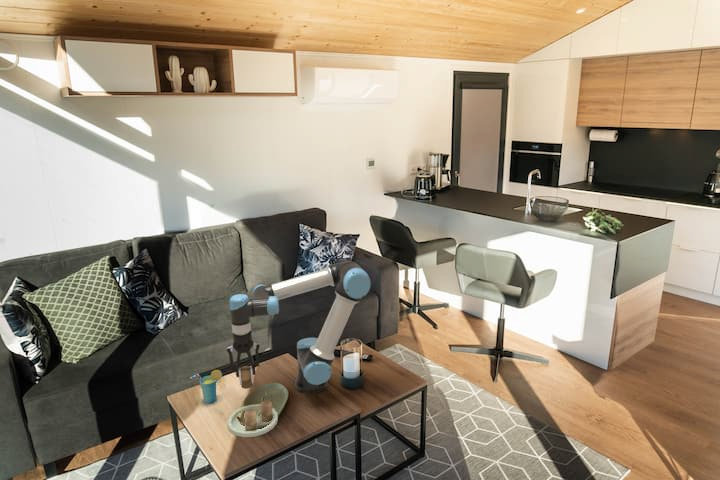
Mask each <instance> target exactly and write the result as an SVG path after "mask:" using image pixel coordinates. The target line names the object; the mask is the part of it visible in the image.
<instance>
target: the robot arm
mask: <svg viewBox="0 0 720 480" xmlns="http://www.w3.org/2000/svg"><path fill="white" fill-rule="evenodd" d="M371 283H372V282H371V278H370V277H369V274H368V273H367V271H365V270H364V269H363V268H362V267H361V265H359V264H358V263H357V262H355V261H351V260H345V261H340V262H336V263H332V264H330V265H327V266H326V267H325V268H324V269H319V270H316V271H313V272H309V273H307V274H303V275H300V276H296V277H292V278H290V279H287V280H283V281H279V282H275V283H272V284H268V285H265V284H258V285H256V286H254V288H253V290H252V298H249V296H248V295H247V294H243V293H242V294H241V293H238V294H235V295H232V296H230V298H229V313H230V321H231V322H230V323H231V332H232V341H233V342H232V345H231V346H227V347H226V352H227V354H228V356H229V357H228V359H229V365H230V370H231V371H235V376H236V378H238V379H239V385H240V386H241V385H242V381H241V371H240V368H241V367H240V363H241V356H242V355H241V354H247V355H246V356H247V357H248V360H249V363H250V366H249V367H250V369H251V380H252V384H254V376H255V375H256V368H257V367H259V366H260V359H259V358H260V357H259V349H260V346H261V345H260V342H254V341H253V336H252V325H251V318H257V317H266V316H272V315H277V314H279V313H280V306H279V305H280V304H279V301H280V300H284V299H286V298H290V297H294V296H296V295H297V296H298V295H300V294H304V293H308V292H311V291H314V290H318V289H321V288H325V287H328V286H331V287H336V288H335V290H334V293H335V295H336V296H335V299H334V300H333V303H332V304H331V305H332V306H331V308H330V311H329V312H328V315H327V317H326V319H325V322H324V324H323V326H322V329H321V331H320V332H319V335H318V337H305V338H301V339H300V340H299V341H297V342H296V349H297V350H296V352H297V355H296V356H297V370H298V371H297V375H296V377H295V381H294V386H295V389H296V390H297V392H300V393H307V394H308V393H315V394H317V393H321V392H323V391H324V390H326V388H327V387H328V381H329V380H330V378H331V376H332V365H333V362H334V360H335V354H334V352H335V349H336V347H337V345H338V342H339V340H340V338H341V336H342V334H343V331H344V329H345V326H346V325H347V323H348V320H349V317H350V315H351V313H352V311H353V309H354V307H355V305H356V304H359V303H360V302H361V300H362V298H363V297H365V296H367V294H368V293H369V292H370V289H371ZM252 348H253V349H254V350H255V351H254V352H255V361H254V358H253V354H252V351H251V349H252ZM234 350H235V351H236V352H237V353H236V354H237V355H236V361H235V362H234V356H233V351H234ZM234 363H235V364H234Z"/></svg>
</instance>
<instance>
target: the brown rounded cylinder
mask: <svg viewBox="0 0 720 480" xmlns="http://www.w3.org/2000/svg"><path fill="white" fill-rule="evenodd" d="M259 404H260V406H261V419H262V422H269V421H271V420H272V419H273V414H272V408H273V404H272V401H270V400H263V401H261V402H260V403H259Z"/></svg>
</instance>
